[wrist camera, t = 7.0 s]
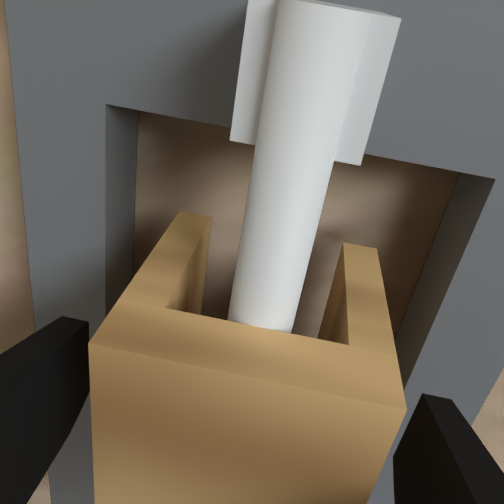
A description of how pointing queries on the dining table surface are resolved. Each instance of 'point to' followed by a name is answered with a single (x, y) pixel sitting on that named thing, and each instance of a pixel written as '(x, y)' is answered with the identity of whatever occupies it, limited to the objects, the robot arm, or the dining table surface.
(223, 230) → the dining table surface
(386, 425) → the ochre u-shaped block
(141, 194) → the dining table surface
